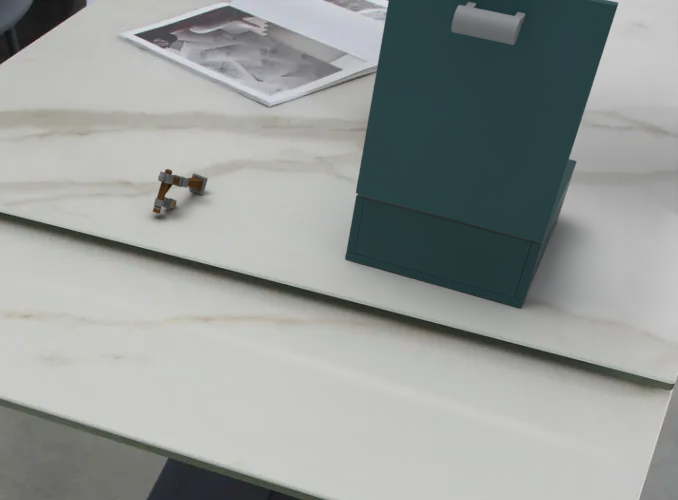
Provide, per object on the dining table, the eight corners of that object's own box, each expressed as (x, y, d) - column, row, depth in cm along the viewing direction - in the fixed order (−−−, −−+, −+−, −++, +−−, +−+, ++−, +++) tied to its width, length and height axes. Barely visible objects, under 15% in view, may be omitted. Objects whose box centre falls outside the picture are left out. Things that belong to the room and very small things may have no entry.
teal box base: (400, 180, 117) (412, 121, 112) (557, 220, 112) (576, 160, 107) (344, 259, 103) (355, 196, 98) (521, 308, 98) (541, 244, 94)
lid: (397, -41, 84) (379, -24, 81) (618, 2, 79) (609, 23, 76) (358, 189, 98) (340, 213, 95) (543, 238, 94) (532, 265, 90)
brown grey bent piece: (143, 209, 106) (155, 165, 104) (183, 212, 113) (194, 171, 111) (157, 215, 105) (169, 171, 104) (196, 217, 112) (208, 176, 111)
